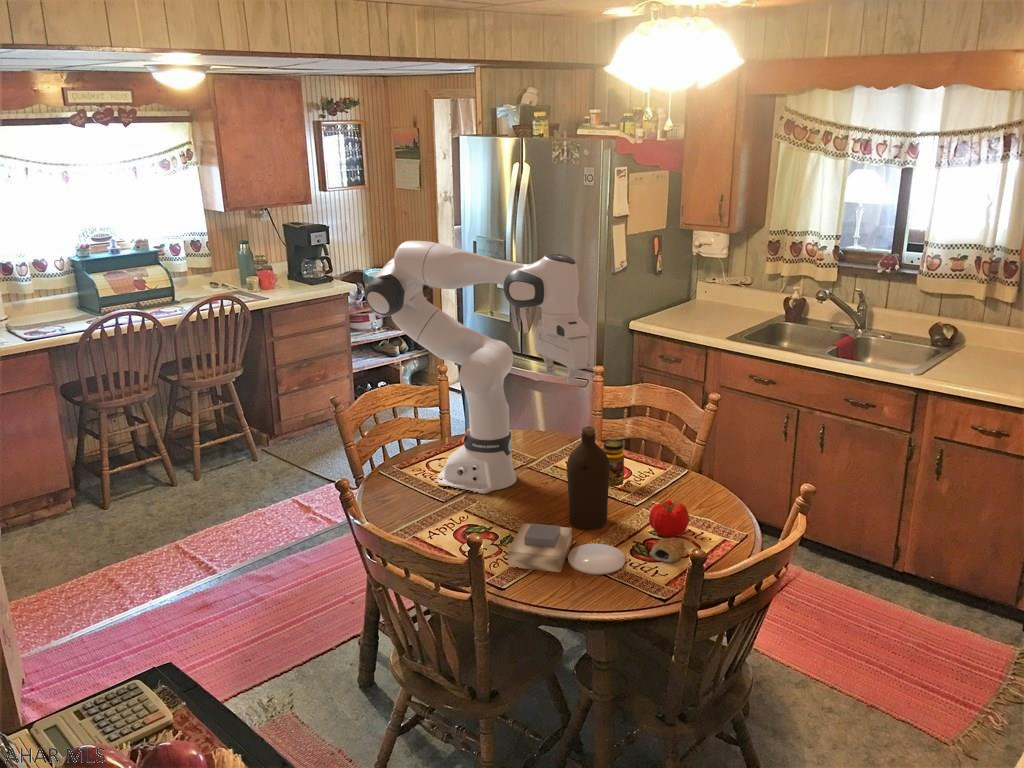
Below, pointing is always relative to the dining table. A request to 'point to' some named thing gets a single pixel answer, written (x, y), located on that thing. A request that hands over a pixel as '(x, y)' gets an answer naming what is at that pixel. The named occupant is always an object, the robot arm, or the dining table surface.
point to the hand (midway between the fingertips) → (560, 378)
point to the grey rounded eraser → (542, 535)
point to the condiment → (615, 462)
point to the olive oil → (588, 483)
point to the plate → (596, 559)
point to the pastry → (667, 550)
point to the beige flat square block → (539, 552)
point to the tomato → (669, 519)
